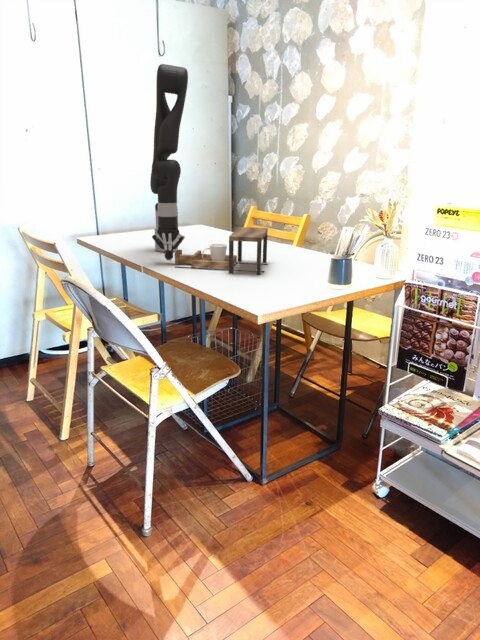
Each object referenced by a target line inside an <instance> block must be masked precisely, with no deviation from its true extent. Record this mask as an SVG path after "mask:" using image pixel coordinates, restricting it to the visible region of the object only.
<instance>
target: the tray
mask: <svg viewBox="0 0 480 640" xmlns="http://www.w3.org/2000/svg"><path fill="white" fill-rule="evenodd" d="M203 259H204V260H205V261H203ZM203 259H202V250H201V249H200V250H197V251H196V252H195V253H194V254H183V249H178V250H177V251H174V264H175V265H179V264H188V265H191V267H194V268H213V269H229V254H226V256H225V260H224V262H220V261H212V258H211V253H203ZM236 262H237V263H238V254H237V255H234V254H233V267H234V266H235V264H237V263H236Z"/></svg>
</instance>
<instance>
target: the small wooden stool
mask: <svg viewBox="0 0 480 640" xmlns="http://www.w3.org/2000/svg"><path fill="white" fill-rule="evenodd" d="M268 232H269V231H268V227H249V226H248V227H247V226H243V227H242V226H238V227H237V228H236V229H235V230H234V231H232V233H231V234H230V235H229V236H228V242H229V243H228V255H229V270H228V274H230V273H232V274H234V271H233V270H234V266H233V255H234V246H235V243H234V242H237V262H242V261H243V259H242V258H243V257H242V256H243V254H242V253H243V248H242V247H243V242H248V243H249V242H250V243H251V242H254V243H255V242H256V263H257V264H256V269H255V271H256V272H255V275H257V276H261V273H262V272H261V271H262V265H261V264H262V263H263V264H267V259H268V258H267V256H268ZM262 241H263V243H262Z"/></svg>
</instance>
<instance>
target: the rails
mask: <svg viewBox="0 0 480 640" xmlns="http://www.w3.org/2000/svg"><path fill="white" fill-rule="evenodd" d="M235 264H242V265H257V262H253V263H252V262H238V261H237V262H236V263H235ZM263 265H264V266H267V265H269V264H268V263H261V266H263ZM174 268H175V269H176V268H177V269H178V268H179V269H193V268H194V269H197V270H212V269H214V270H215V271H229V269H217V268H198V267H189V266H175V267H174ZM194 269H193V270H194ZM214 270H213V271H214ZM235 271H236V272H250V273H251V272H252V273H254V272H255V273H256V270H250V269H249V270H247V269H233V272H235ZM261 273H265V270H261Z"/></svg>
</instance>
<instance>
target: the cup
mask: <svg viewBox="0 0 480 640" xmlns="http://www.w3.org/2000/svg"><path fill="white" fill-rule="evenodd" d="M227 248H228V244H226V243H223V242H221V243H219V242H218V243H217V242H216V243H215V242H214V243H210V244H209V247H205V248H204V249H202V251H201V254H202V259H203V254H205V251H207V250H209V251H210V252H209V253H210V254H211V258H212V261H220V262H224V260H225V256H226V255H227V250H228V249H227ZM203 261H205V260H204V259H203Z"/></svg>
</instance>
